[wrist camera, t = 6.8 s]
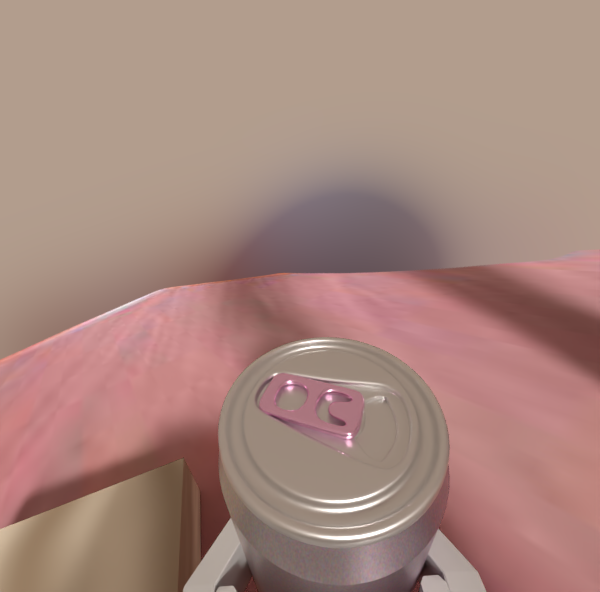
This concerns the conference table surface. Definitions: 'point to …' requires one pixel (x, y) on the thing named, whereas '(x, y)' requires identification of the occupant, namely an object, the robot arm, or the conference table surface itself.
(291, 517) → the beverage can
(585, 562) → the conference table surface
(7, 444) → the conference table surface
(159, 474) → the ash base block
